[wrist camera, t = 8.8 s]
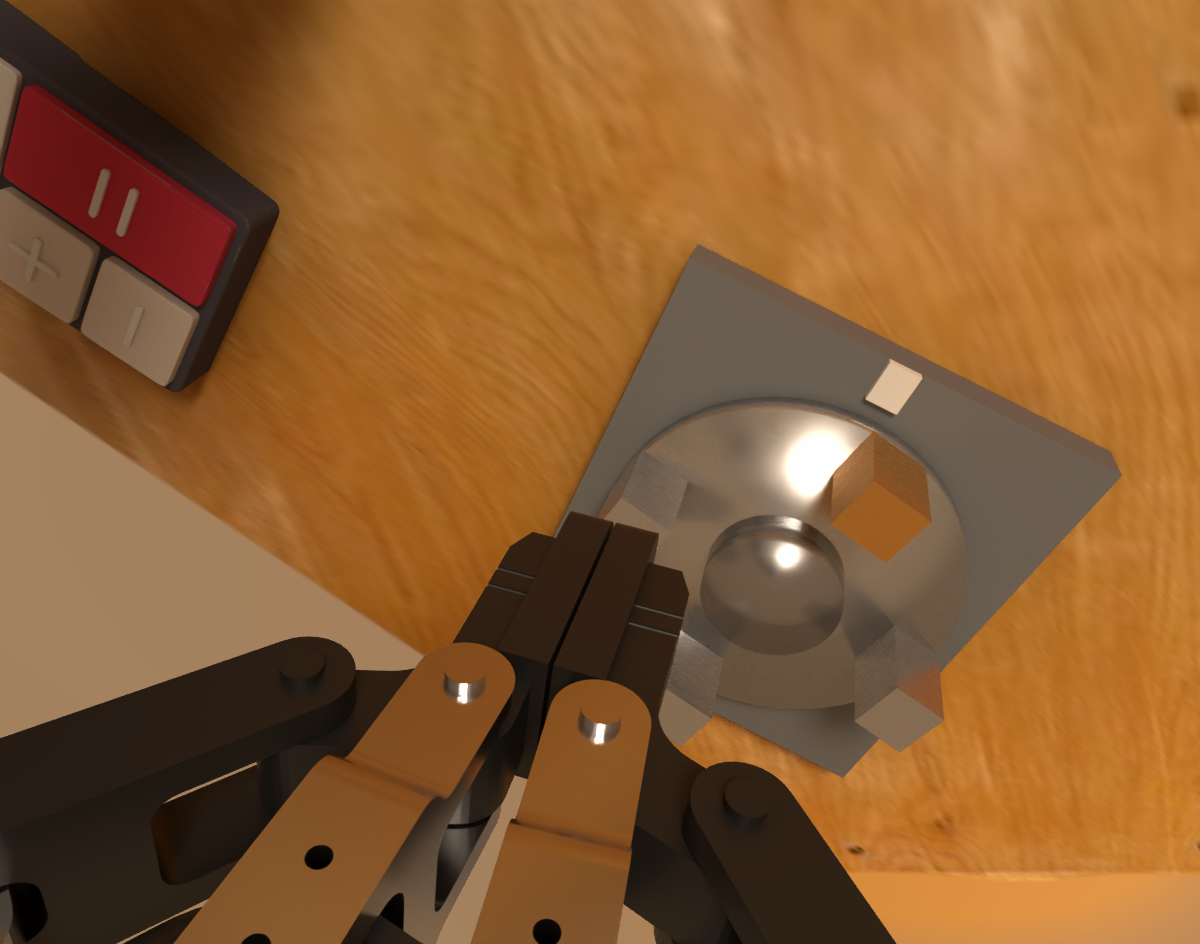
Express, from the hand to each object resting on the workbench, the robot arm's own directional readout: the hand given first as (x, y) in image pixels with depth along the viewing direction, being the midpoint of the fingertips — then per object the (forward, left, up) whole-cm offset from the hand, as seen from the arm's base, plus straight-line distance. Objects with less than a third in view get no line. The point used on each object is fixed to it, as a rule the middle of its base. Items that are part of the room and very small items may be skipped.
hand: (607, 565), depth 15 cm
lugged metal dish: (+8, -13, -23) cm, 27 cm away
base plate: (+8, -13, -25) cm, 29 cm away
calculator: (-28, -14, -26) cm, 40 cm away
